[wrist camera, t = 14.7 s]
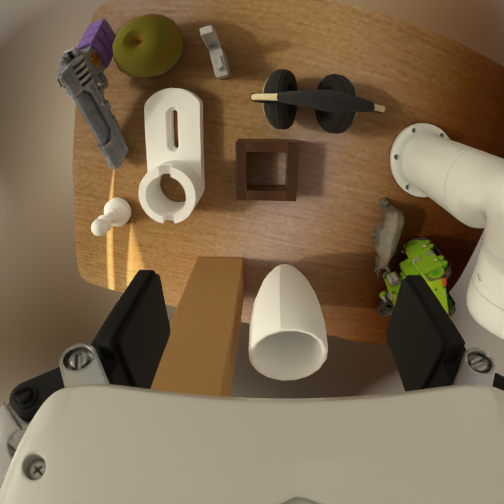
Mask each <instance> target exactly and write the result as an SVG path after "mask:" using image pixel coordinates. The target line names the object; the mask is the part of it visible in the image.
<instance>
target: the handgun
mask: <svg viewBox="0 0 504 504" xmlns="http://www.w3.org/2000/svg"><path fill="white" fill-rule="evenodd" d="M115 37H116V35H115V33H114V32H113V30H112V29H111V27H110V25H109V24H108V22H107V21H106V20H105V19H102V20H99V21H97V22H95V23H92V24H90V25H89V26H88V28H87V30H86V32H84V34H83V36H82V39H81V41H80V42H79V44H78V47H77V48H75V47H73V48H70V49H68V50H66V51H64V55H65V57H66V58H65V57H62V58H60V59H59V63H60V64H61V66H60V67H59V69H58V71H57V72H56V74H57V76H58V78H57V82H58V84H59V86H60V87H63V88H64V89H65V90H66V92H67V94H68V96H69V97H70V98H73V99H74V101H75V102H76V104H77V106H78V108H79V110H80V111H81V113H82V115H83V117H84V118H85V120H86V122H87V124H88V125H89V127H90V129H91V131H92V132H93V134H94V136H95V137H96V139H97V141H98V145H97V146H98V148H99V149H100V151H101V153H102V154H103V156H104V157H105V159H106V163H107V167H109V168H112V169H117V168H119V167H120V166H121V164H122V161H123V159H124V158H125V157H126V155H127V152H128V150H129V149H128V148H127V146H126V143H125V140H124V138H123V135H122V132H121V130H120V127H119V125H118V122H117V120H116V117H115V116H113V115H112V113H111V111H110V108H111V105H110V103H109V101H108V100H107V101H106V100H105V98H104V96H103V95H104V91H103V90H104V89H105V87H107V86H108V81H107V79H106V77H105V75H104V73H103V71H104V70H105V69H106V67H108V65H109V63H110V61H111V59H112V56H113V49H112V45H113V42H114V40H115ZM96 76H97V77H96ZM97 78H98V79H99V80H97ZM98 82H100V83H101V84H100V85H99V86H98V84H97V83H98Z"/></svg>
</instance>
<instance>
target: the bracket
mask: <svg viewBox="0 0 504 504" xmlns="http://www.w3.org/2000/svg"><path fill="white" fill-rule="evenodd" d="M174 110H176V111H177V112H178V143H179V146H178V147H176V146H175V143H174ZM144 118H145V139H146V155H147V168H148V173H147V174H146V175H145V176H144V177H143V179H142V181H141V183H140V186H139V200H140V203H141V206H142V208H143V210H144V211H145V212H146V213H147V215H148V216H150V217H151V218H152V219H154V220H155V221H157V222H160V223H164V222H165V221H166V220H174V224H175V223H178V222H181V221H183V220H184V219H186V218H187V217H188V216H189V215H190V213H191V212H192V210H193V209H194V208H195V206H196V205H197V203H198V202H199V200H200V199H201V197H202V195H203V193H204V189H205V173H204V133H203V102H202V100H201V99H200V98H199V97H198V96H197V95H196V94H194V93H193V92H191V91H189V90H186V89H180V88H167V89H163V90H160V91H158V92H156V93H155V94H153V95H152V96H151V97H150V98H149V99H148V100H147V101H146V103H145V105H144ZM163 174H170V176H171V177H172V178H174V179H176V180H177V181H178V182H179V183H180V184H181V185H182V186H183V188H184V190H185V194H186V201H184V202H174V201H172V200H170V199H168V198H167V197H166V196H165V195H164V194H163V192H162V190H161V186H160V181H161V177H162V175H163Z"/></svg>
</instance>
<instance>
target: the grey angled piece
mask: <svg viewBox="0 0 504 504" xmlns="http://www.w3.org/2000/svg"><path fill="white" fill-rule="evenodd" d="M200 35H201V37H202V39H203V41H204V43H205V45H206V47H207V49H208V50H209V51H210V52H209V53H210V57H211V61H212V65H213V69H214V73H215V76H216V77H217V78H220V79H226V78H230V77H231V76H232V75H231V71H230V67H229V64H228V60H227V56H226V53H225V52H224V51H223V50H222V49H221V45H220V40H219V38H218V36H217V34H216V31H215V29H214V27H213V25H209V26H206V27H202V28H200Z"/></svg>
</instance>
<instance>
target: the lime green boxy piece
mask: <svg viewBox="0 0 504 504" xmlns="http://www.w3.org/2000/svg"><path fill="white" fill-rule="evenodd" d="M403 247H404V250H402V253H406V255H407V256H408V259H406V260H404V261H403V262H401V263H399V265H400V269H401V273H400V277H399V275H398V274H397V272H396V271H394V272H391V273H390V274H389V273H388V272H387V271H386V272H385V273H384V274H383V279H384V280H385V283H386V287H387V290H388V292H387V291H382V292H381V293H380V294H379V297H380V298H381V299H383V301H384V302H387V301H388V299H390V300H391V301H392V303H393V305H394V306H395V302H396V299H397V296H398V292H399V288H400V285H401V281H402V280H403V279H405V278H406V276H407V275H421V276H422V277H423V278H424V279H425V281H426V282H427V284H428V285H429V287H430V288H431V290H432V291H433V293H434V294H435V295H436V297H437V299H438V300H439V302H440V303H441V305H442V306H443V308H444V309H445V311H446V312H447V314H448V315H449V317H450V319H451V316H452V315H453V314H454V312H455V302H454V300H453V299H452V297H451V296H450V294H449V293H448V291H447V290H446V285H447V279H448V278H449V277H450V275H451V265H450V263H449V261H448V260H447V259H446V258H445V257H444V255H443V254H442V253H441V252H440V251H439V250H438V248H437V247H436V246H435V245H434V244H433V243H432V242H431V240H430V239H429V238H427V237H422V238H416V239H415V238H412V239H411V240H409V241H408V242H406V243H405V244H404V245H403ZM435 252H436V253H437V254H438V256H436V255H435V254H434V253H435ZM448 268H449V269H448ZM388 304H389V303H388ZM386 305H387V304H386ZM453 306H454V307H453ZM381 307H382V306H381ZM379 308H380V307H379ZM374 310H375V309H374ZM449 310H450V311H449Z"/></svg>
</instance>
